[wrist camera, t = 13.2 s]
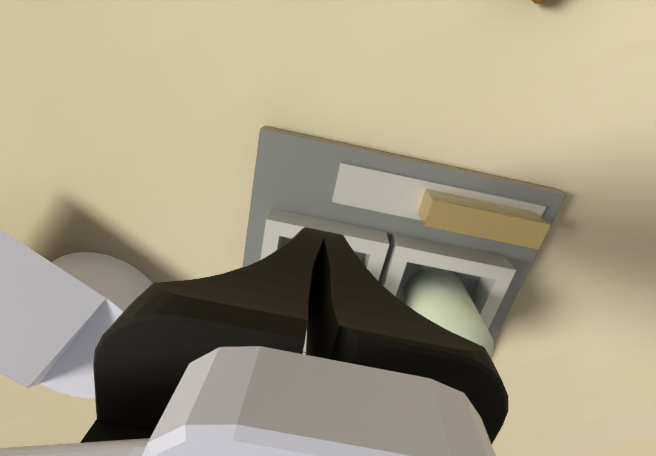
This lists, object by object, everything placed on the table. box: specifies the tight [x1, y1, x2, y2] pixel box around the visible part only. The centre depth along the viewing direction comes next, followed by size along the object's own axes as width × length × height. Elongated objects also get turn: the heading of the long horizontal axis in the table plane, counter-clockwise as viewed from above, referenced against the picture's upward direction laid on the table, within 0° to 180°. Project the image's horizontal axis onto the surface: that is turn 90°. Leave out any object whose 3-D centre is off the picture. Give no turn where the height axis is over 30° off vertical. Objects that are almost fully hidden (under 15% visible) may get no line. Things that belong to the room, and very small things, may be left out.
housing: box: [243, 126, 566, 353], centre depth 20 cm, size 14×16×6 cm
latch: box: [418, 189, 551, 250], centre depth 19 cm, size 1×6×2 cm, turn 78°
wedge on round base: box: [0, 229, 153, 398], centre depth 22 cm, size 9×7×13 cm
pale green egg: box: [404, 267, 494, 358], centre depth 20 cm, size 4×4×5 cm
